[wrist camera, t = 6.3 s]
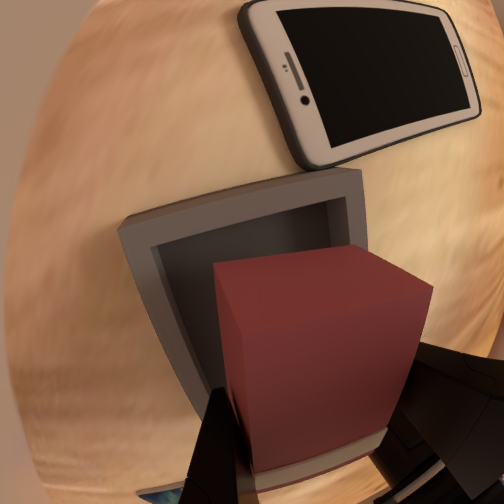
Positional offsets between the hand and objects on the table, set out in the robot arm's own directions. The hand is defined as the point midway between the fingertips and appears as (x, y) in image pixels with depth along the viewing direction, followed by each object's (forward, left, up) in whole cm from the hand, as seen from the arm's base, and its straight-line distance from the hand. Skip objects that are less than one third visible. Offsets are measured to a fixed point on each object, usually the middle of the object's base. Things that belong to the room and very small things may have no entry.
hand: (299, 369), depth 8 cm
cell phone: (+10, -9, -5) cm, 14 cm away
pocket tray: (0, 0, -4) cm, 4 cm away
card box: (0, 0, -1) cm, 1 cm away
